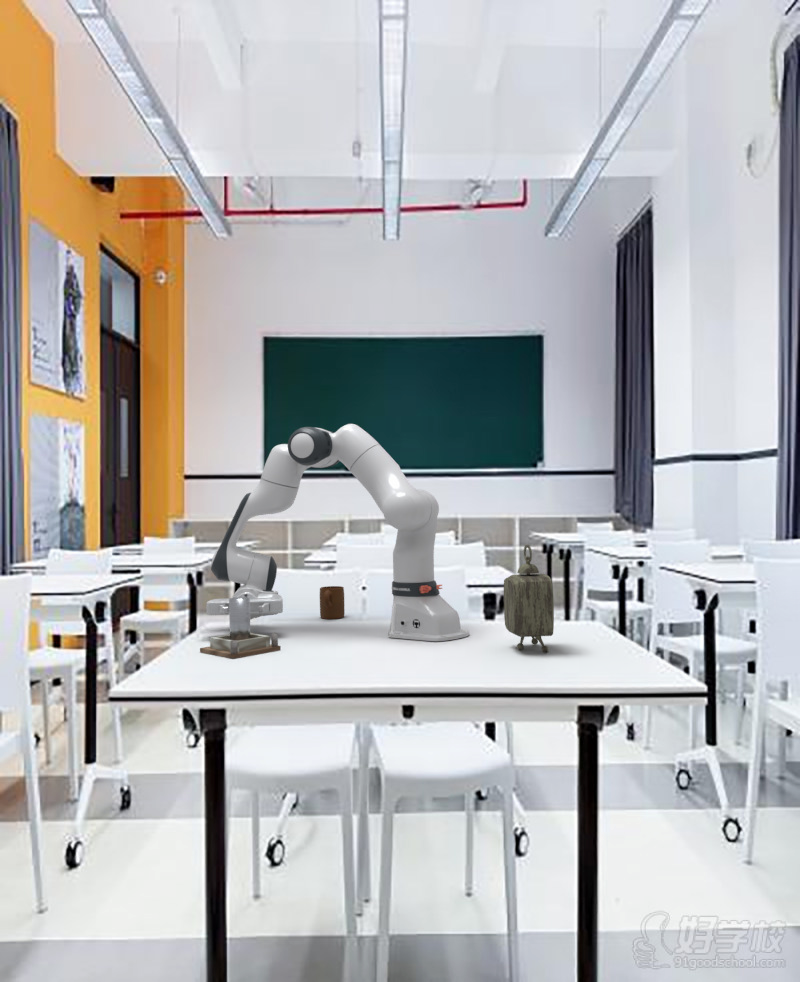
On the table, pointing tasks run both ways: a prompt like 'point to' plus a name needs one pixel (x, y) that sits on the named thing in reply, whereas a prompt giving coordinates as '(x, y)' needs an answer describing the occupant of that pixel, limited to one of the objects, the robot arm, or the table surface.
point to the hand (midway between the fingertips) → (243, 610)
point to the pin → (239, 618)
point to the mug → (332, 602)
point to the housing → (241, 646)
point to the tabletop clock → (529, 603)
